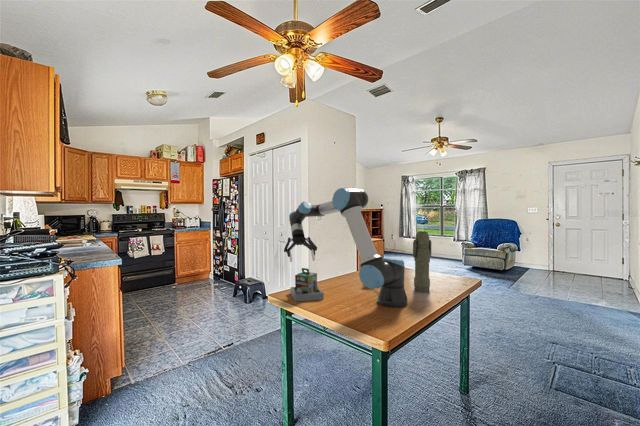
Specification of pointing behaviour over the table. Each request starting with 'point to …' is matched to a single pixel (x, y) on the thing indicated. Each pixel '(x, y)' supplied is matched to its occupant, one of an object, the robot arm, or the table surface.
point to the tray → (307, 295)
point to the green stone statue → (422, 261)
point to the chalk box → (306, 282)
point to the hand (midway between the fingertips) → (302, 260)
